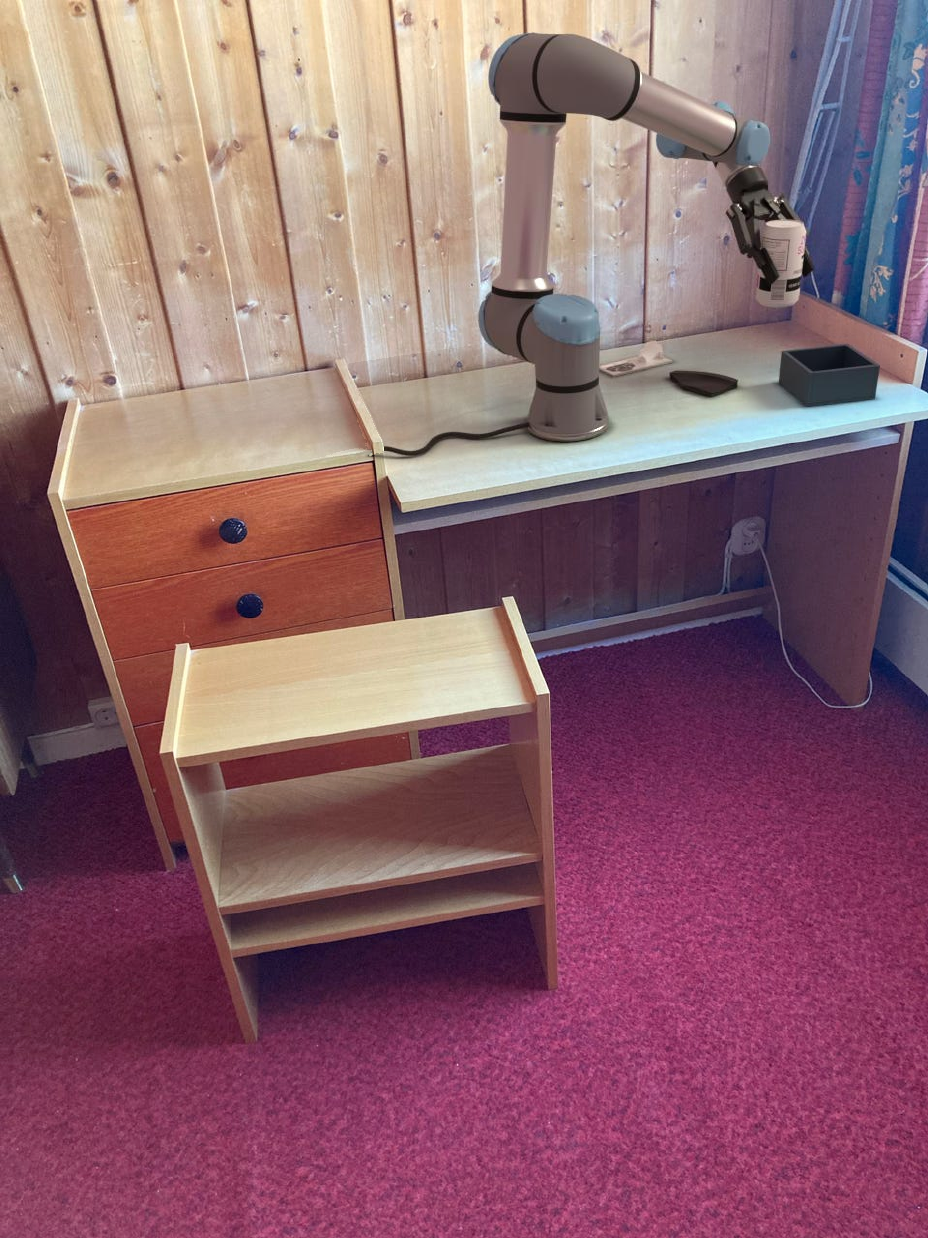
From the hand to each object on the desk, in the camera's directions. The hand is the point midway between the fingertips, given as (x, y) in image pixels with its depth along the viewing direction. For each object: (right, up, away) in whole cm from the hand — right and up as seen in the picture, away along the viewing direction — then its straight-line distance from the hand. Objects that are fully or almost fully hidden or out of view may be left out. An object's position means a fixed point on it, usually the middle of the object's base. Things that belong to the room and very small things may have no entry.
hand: (791, 276), depth 202 cm
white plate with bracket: (-27, -12, +21) cm, 37 cm away
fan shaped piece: (-15, -19, +9) cm, 26 cm away
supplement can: (-1, -4, +6) cm, 7 cm away
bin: (+7, -22, +2) cm, 23 cm away
